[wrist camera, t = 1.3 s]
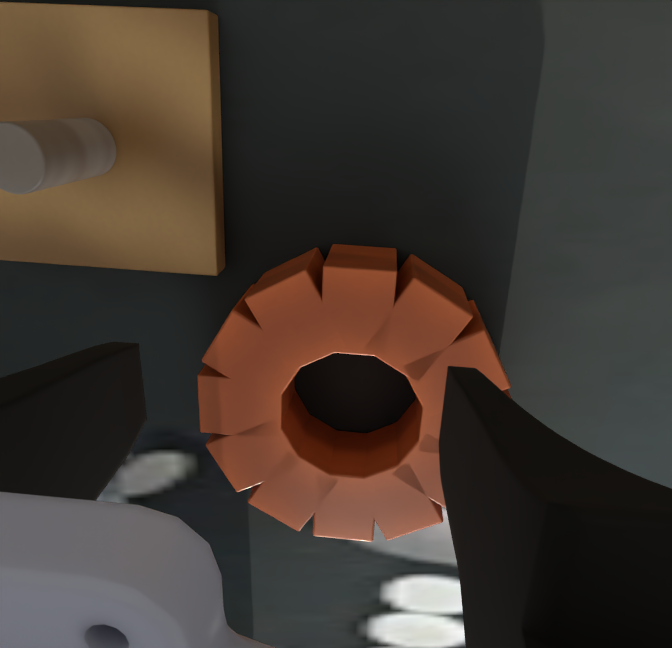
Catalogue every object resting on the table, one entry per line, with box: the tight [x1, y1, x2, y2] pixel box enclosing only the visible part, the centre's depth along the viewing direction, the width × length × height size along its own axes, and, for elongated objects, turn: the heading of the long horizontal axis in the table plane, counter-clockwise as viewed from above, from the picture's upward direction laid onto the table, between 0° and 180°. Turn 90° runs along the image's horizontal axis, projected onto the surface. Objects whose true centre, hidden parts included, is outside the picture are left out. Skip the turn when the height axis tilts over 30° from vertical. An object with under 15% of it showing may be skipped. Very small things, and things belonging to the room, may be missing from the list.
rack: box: [0, 2, 225, 276], centre depth 18 cm, size 9×9×6 cm
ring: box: [197, 244, 511, 542], centre depth 22 cm, size 12×12×3 cm
